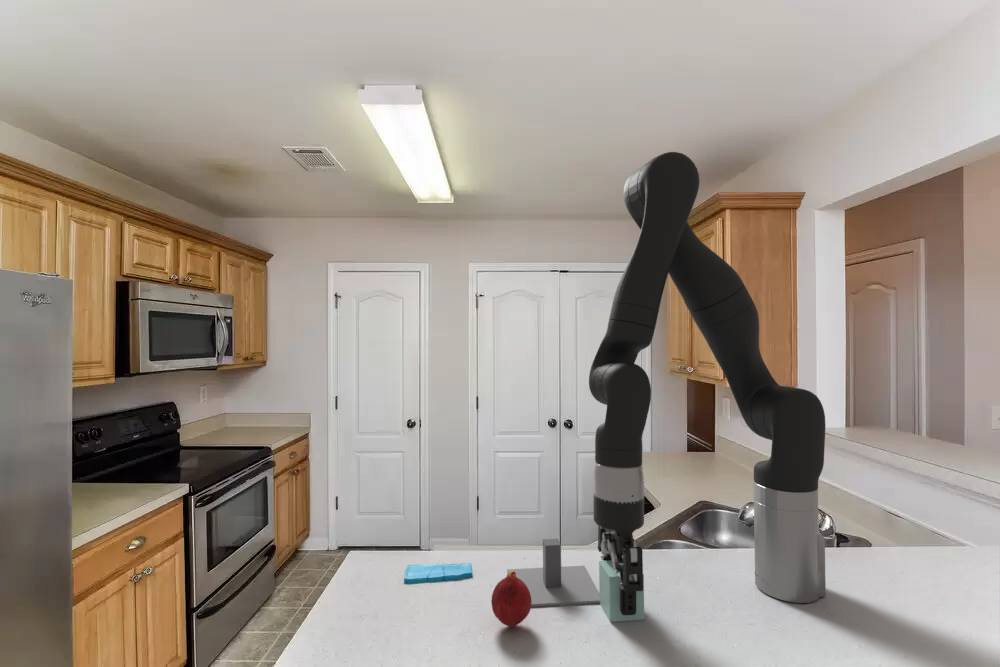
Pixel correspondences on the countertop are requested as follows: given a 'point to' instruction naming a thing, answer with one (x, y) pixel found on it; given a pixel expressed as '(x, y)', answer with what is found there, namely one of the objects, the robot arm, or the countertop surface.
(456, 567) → the sponge
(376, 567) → the countertop surface
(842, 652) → the countertop surface
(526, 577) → the mat
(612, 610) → the mint green square prism
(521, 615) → the onion
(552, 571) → the post
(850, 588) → the countertop surface
